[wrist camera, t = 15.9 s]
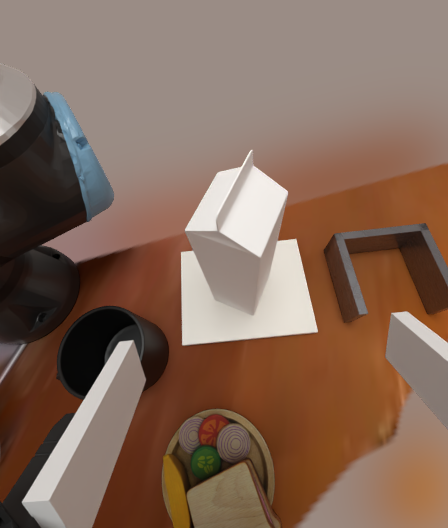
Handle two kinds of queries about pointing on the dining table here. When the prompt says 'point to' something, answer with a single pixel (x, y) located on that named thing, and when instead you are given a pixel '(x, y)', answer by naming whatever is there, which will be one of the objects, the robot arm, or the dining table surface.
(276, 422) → the dining table surface
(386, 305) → the dining table surface
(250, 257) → the milk
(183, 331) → the board
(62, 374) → the mug
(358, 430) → the dining table surface
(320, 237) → the dining table surface
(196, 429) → the toy sandwich meal
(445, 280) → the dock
